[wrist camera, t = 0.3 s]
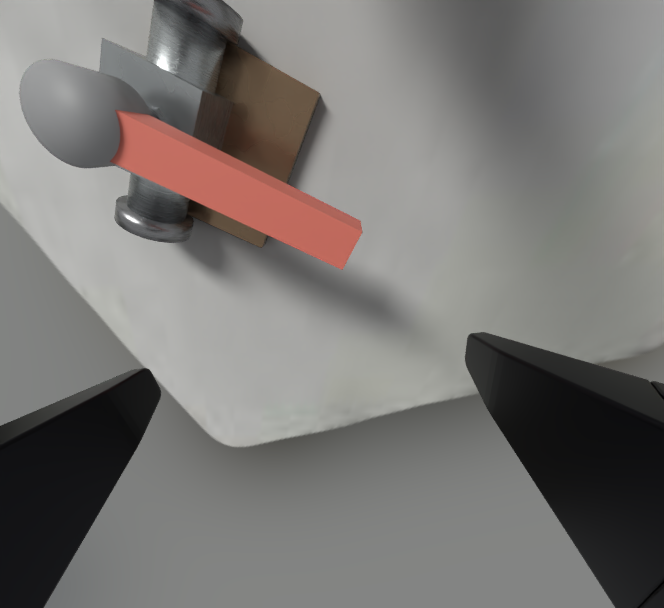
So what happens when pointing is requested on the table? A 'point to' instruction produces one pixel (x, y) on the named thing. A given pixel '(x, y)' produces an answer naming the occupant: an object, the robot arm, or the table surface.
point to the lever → (172, 158)
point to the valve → (207, 110)
